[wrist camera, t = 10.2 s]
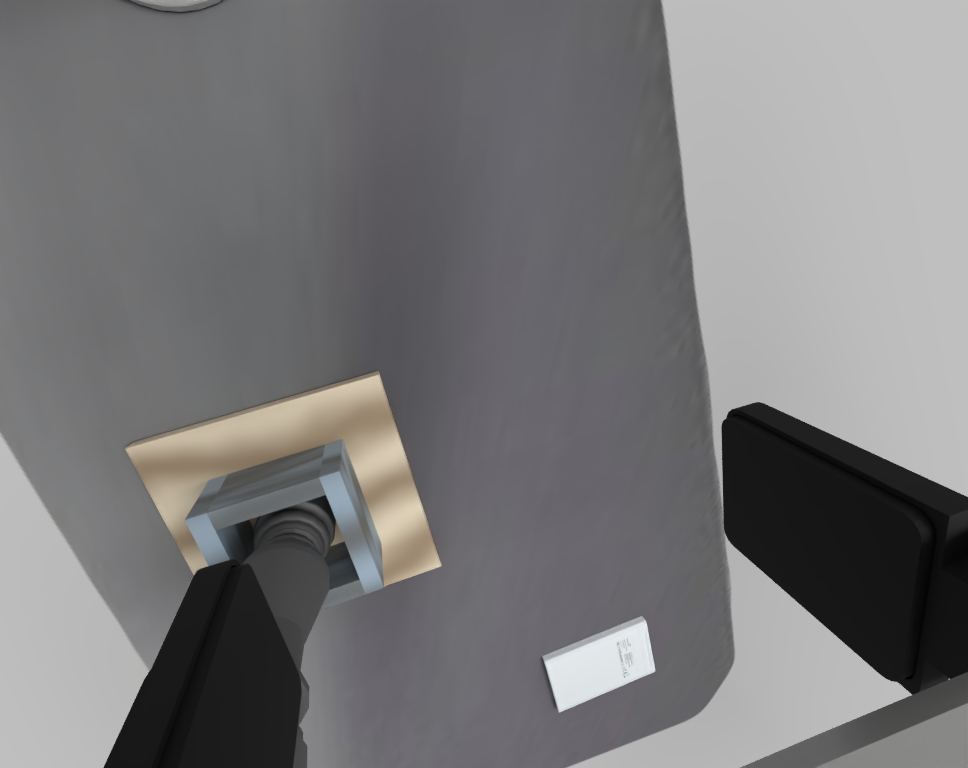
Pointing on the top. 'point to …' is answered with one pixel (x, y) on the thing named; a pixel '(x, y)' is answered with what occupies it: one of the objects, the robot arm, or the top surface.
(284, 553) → the candle holder
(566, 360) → the top surface
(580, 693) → the external hard drive
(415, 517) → the socket board
